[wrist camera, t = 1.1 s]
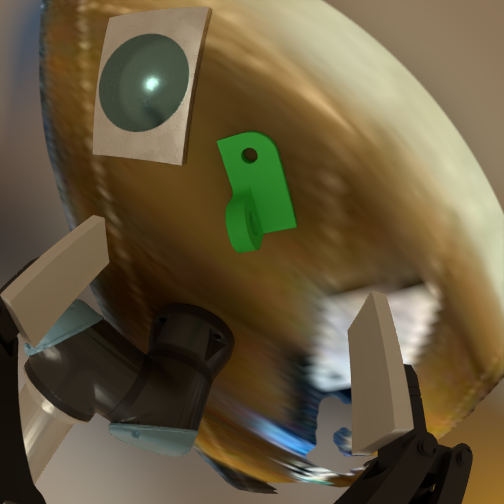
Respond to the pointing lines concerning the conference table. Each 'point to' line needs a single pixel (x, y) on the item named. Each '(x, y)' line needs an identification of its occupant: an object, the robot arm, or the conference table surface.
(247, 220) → the mechanical part
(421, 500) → the robot arm
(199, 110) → the conference table surface
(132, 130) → the carrier plate
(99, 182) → the conference table surface
